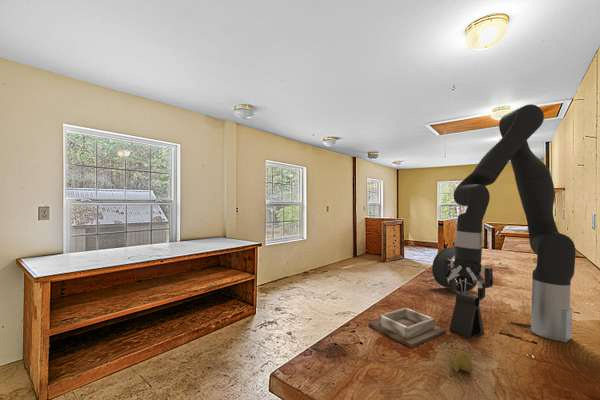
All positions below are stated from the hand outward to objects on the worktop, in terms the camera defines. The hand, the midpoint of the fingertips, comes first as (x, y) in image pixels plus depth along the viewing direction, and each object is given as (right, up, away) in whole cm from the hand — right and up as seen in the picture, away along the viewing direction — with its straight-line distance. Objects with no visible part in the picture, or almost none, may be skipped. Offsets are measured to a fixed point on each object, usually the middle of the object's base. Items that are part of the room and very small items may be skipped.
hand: (465, 295), depth 90 cm
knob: (-15, -11, -22) cm, 29 cm away
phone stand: (0, -12, -1) cm, 12 cm away
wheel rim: (+21, -13, +43) cm, 50 cm away
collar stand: (-20, -11, 0) cm, 22 cm away
